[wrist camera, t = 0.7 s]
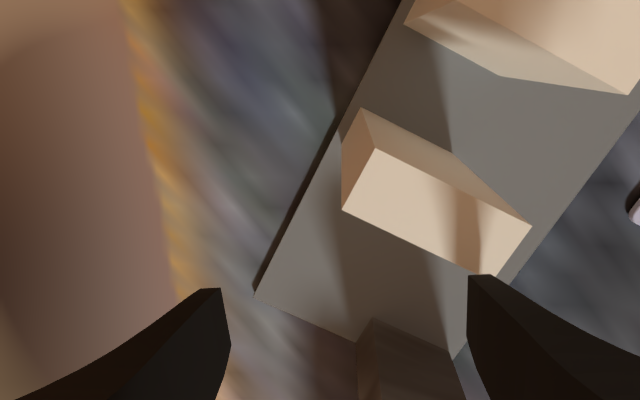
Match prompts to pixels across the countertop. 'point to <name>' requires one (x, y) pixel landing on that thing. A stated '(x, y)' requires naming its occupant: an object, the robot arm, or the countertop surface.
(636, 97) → the mat
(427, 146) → the domino
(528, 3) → the domino
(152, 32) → the countertop surface
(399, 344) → the domino
